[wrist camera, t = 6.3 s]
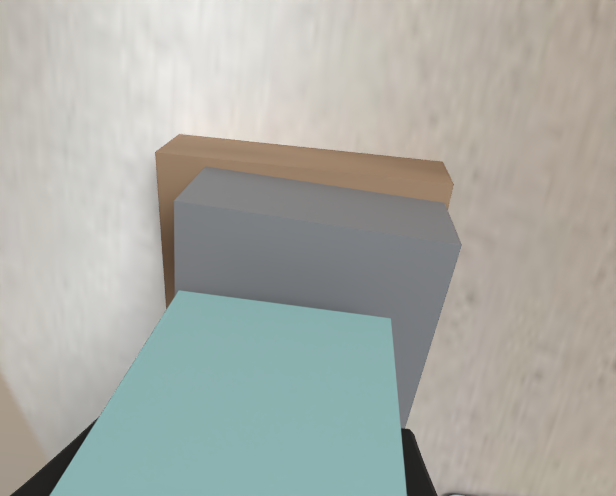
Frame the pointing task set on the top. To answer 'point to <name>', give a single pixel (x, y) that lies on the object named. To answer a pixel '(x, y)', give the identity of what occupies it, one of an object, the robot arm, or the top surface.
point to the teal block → (249, 407)
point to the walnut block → (286, 175)
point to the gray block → (320, 254)
